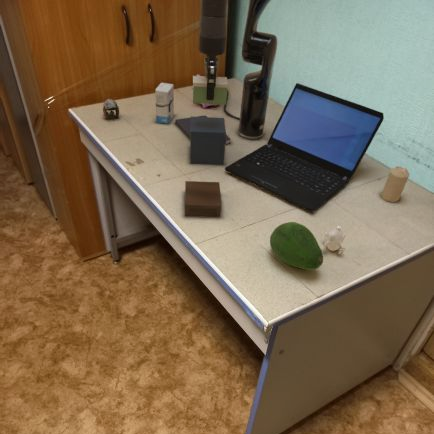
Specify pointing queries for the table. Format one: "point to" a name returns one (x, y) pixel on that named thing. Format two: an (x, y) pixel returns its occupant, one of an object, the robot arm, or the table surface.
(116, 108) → the helmet
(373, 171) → the table surface
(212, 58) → the robot arm
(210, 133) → the blue box
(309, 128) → the laptop
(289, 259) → the fruit
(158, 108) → the ink box
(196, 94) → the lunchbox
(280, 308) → the table surface
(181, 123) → the notebook
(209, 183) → the low shelf
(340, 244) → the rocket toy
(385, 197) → the candle
